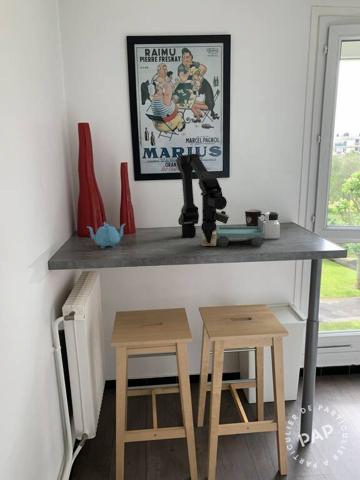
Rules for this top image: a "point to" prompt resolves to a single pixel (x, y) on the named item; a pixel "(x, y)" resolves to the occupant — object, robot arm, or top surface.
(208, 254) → the top surface
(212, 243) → the block
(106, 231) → the teapot
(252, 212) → the coffee mug
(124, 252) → the top surface
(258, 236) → the teal toy wagon
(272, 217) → the medicine bottle
